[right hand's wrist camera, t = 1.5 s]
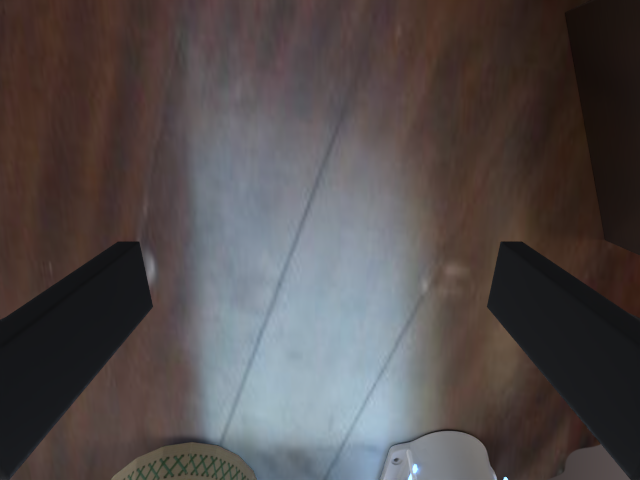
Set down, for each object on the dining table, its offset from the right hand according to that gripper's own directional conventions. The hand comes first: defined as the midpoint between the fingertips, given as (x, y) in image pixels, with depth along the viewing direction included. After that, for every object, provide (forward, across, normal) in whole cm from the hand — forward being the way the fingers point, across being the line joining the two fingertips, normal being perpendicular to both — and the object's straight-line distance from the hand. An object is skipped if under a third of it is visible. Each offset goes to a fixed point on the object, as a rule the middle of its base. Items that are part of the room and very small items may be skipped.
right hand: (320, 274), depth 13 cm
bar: (+28, +32, +3) cm, 43 cm away
